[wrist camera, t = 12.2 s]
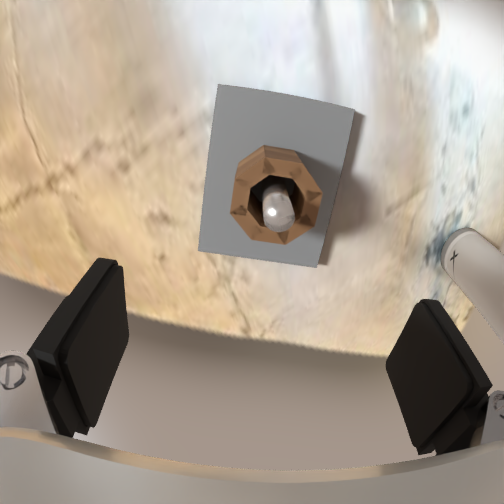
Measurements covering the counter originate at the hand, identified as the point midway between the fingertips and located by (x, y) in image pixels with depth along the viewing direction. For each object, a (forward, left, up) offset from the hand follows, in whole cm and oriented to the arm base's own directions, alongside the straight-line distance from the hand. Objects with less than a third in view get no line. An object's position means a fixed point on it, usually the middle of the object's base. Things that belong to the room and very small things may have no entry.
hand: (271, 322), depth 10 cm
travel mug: (+5, +25, -23) cm, 34 cm away
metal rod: (+1, +1, -21) cm, 21 cm away
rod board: (+1, +1, -22) cm, 22 cm away
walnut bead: (+1, +1, -21) cm, 21 cm away
